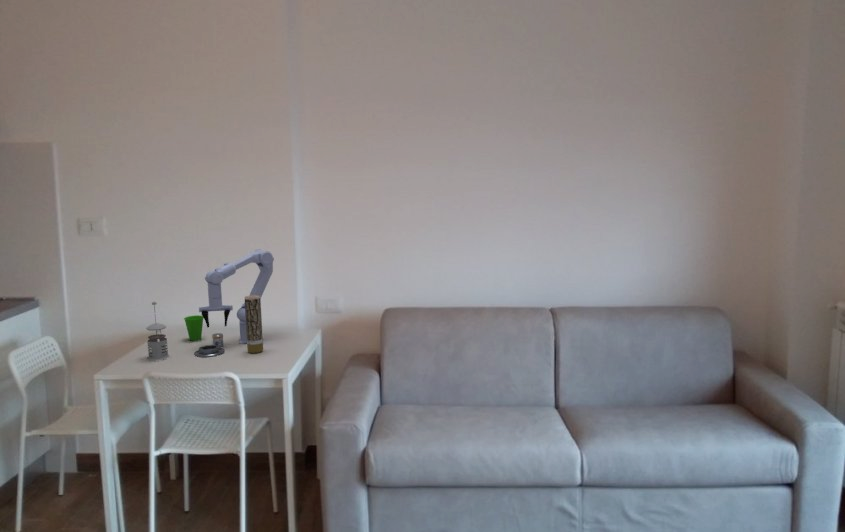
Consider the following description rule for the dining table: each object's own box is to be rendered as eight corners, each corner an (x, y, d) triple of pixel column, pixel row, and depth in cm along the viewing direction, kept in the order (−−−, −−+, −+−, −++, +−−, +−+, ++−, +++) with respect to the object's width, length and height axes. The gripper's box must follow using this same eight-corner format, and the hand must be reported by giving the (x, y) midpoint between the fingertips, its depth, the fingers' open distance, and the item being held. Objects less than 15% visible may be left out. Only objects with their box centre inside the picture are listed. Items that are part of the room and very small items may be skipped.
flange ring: (225, 348, 291) (225, 342, 291) (223, 356, 279) (223, 350, 278) (196, 350, 289) (195, 344, 288) (192, 358, 276) (191, 352, 276)
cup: (208, 337, 310) (207, 315, 308) (200, 342, 301) (198, 319, 299) (190, 337, 311) (189, 315, 309) (182, 342, 302) (180, 319, 300)
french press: (144, 362, 272) (139, 304, 268) (148, 354, 283) (144, 299, 279) (169, 360, 274) (165, 303, 270) (172, 352, 285) (168, 297, 281)
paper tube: (259, 354, 281) (256, 298, 277) (244, 353, 282) (241, 298, 279) (265, 349, 288) (262, 295, 284) (251, 349, 289) (248, 295, 285)
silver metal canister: (224, 345, 296) (223, 332, 295) (223, 348, 291) (222, 335, 290) (213, 346, 295) (212, 333, 294) (212, 348, 290) (211, 336, 289)
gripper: (232, 294, 295) (234, 323, 297) (199, 296, 292) (201, 325, 294) (231, 297, 288) (233, 326, 290) (197, 299, 285) (199, 329, 287)
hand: (217, 326), depth 292 cm, fingers open, 7 cm apart
